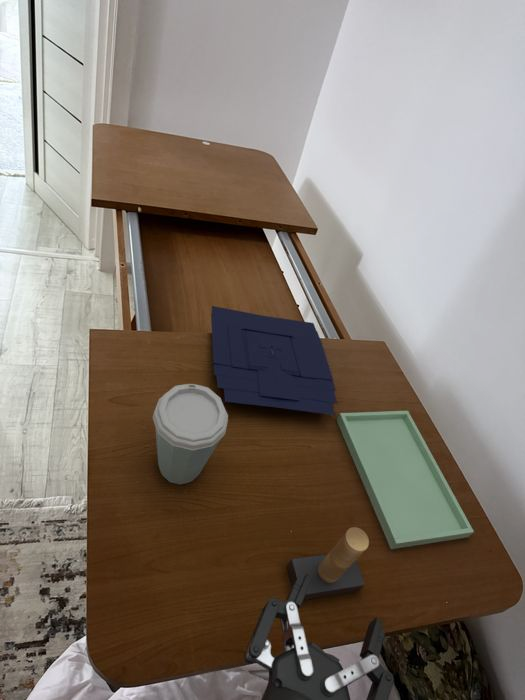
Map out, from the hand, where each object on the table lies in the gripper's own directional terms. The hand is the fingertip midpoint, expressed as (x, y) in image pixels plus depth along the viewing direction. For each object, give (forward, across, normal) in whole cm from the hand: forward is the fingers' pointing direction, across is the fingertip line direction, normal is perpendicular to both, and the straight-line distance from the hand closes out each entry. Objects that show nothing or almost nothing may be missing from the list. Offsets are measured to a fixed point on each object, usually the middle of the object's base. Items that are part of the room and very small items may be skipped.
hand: (341, 599), depth 55 cm
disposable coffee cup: (+13, -27, -16) cm, 35 cm away
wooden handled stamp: (+10, 0, -16) cm, 19 cm away
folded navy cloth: (+45, -26, -16) cm, 54 cm away
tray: (+36, +6, -16) cm, 40 cm away
